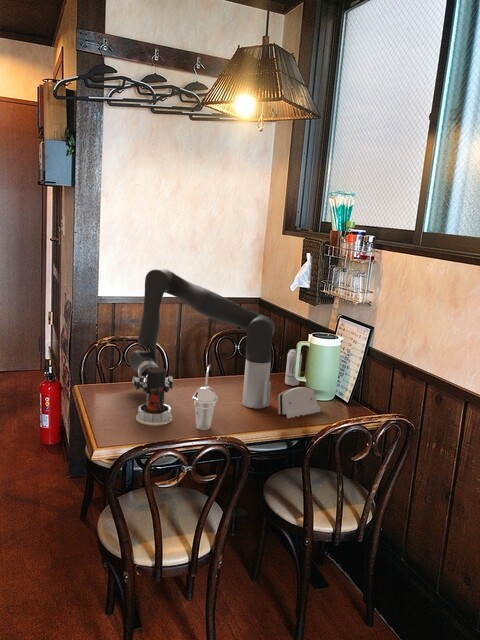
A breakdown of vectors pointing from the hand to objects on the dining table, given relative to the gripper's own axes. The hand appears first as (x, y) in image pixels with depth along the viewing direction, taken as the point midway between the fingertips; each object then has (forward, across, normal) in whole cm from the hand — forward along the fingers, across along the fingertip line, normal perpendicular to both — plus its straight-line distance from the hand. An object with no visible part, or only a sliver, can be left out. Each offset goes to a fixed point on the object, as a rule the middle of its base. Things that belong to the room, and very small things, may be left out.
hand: (156, 389), depth 177 cm
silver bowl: (-2, 0, +11) cm, 11 cm away
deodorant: (-2, 0, +9) cm, 10 cm away
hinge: (-4, +53, +12) cm, 54 cm away
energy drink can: (-33, +63, +12) cm, 72 cm away
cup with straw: (+6, +15, +11) cm, 20 cm away
